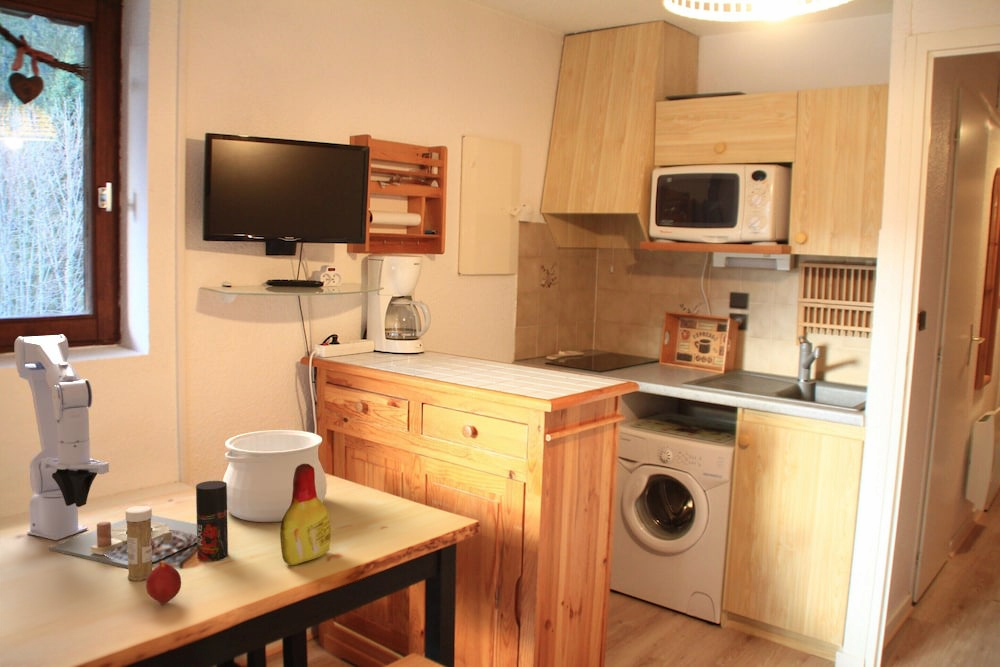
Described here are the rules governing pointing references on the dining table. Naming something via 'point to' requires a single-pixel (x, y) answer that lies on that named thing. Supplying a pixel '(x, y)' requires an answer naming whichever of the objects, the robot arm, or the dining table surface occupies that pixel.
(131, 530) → the sprinkles bottle
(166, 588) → the onion
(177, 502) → the dining table surface
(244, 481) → the pot
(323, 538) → the bottle
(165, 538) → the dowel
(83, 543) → the post board
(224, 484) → the deodorant
